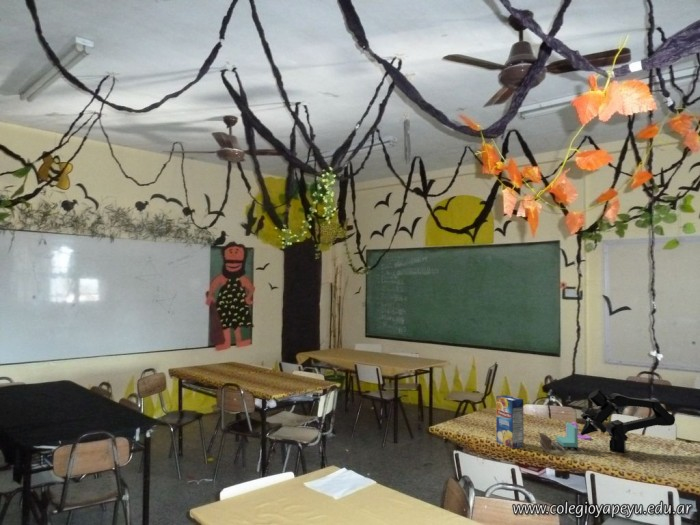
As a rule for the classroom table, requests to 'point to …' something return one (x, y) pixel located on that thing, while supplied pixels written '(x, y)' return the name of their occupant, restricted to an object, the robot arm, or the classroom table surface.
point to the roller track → (556, 446)
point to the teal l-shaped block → (569, 437)
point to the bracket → (579, 433)
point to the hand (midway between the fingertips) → (581, 434)
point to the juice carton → (509, 421)
